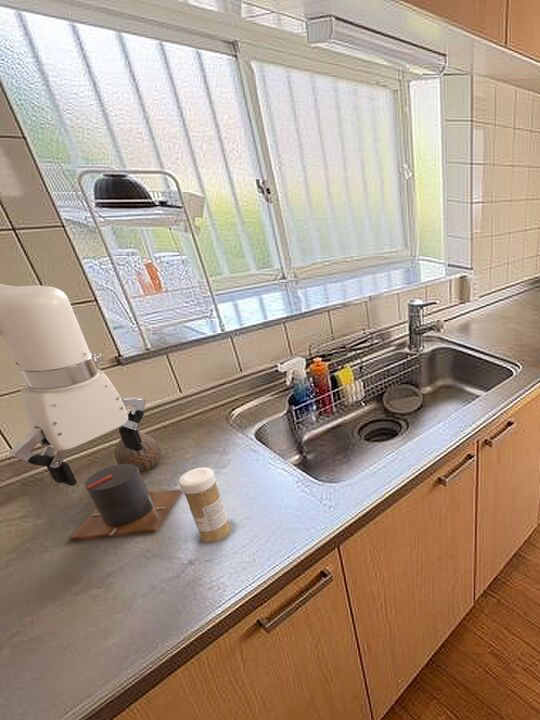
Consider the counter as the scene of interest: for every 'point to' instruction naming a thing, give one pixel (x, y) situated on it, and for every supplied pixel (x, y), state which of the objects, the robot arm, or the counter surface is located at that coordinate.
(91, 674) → the counter surface
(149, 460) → the vase
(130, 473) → the knob
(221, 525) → the sprinkles bottle
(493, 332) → the counter surface
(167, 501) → the wooden board
